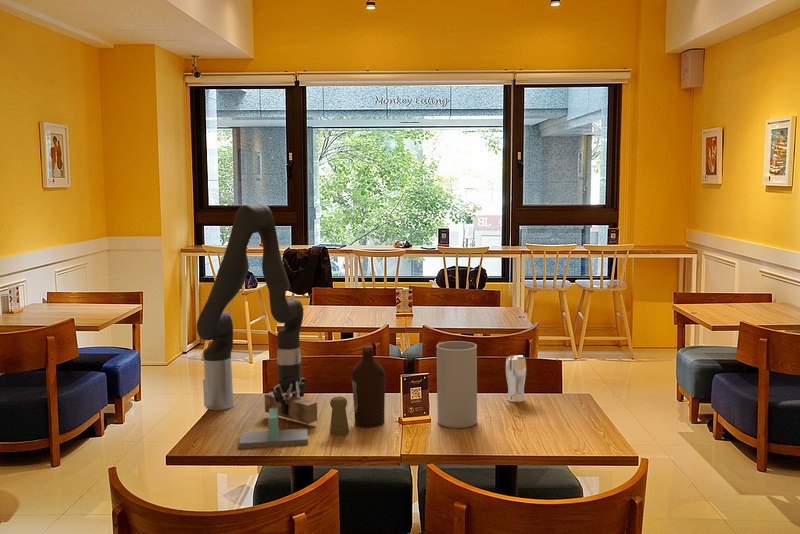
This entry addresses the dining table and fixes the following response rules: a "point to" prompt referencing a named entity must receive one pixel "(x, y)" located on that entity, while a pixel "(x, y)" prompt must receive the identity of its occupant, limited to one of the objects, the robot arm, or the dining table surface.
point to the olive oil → (368, 390)
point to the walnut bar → (294, 408)
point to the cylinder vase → (457, 384)
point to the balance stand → (273, 435)
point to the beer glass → (515, 377)
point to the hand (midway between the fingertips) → (290, 412)
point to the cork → (339, 416)
